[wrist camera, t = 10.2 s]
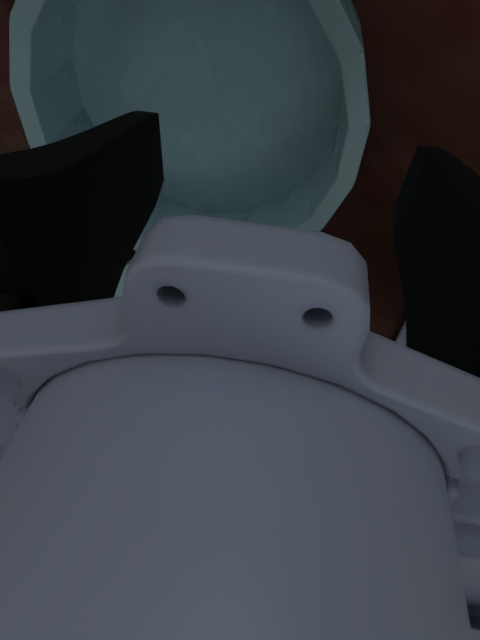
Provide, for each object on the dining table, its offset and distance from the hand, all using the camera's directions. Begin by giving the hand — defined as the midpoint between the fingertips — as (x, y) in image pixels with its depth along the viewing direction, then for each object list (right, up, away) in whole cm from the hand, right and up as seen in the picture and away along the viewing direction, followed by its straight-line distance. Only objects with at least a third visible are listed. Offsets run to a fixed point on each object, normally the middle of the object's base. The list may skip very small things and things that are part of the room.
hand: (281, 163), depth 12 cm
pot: (-3, +6, +7) cm, 10 cm away
